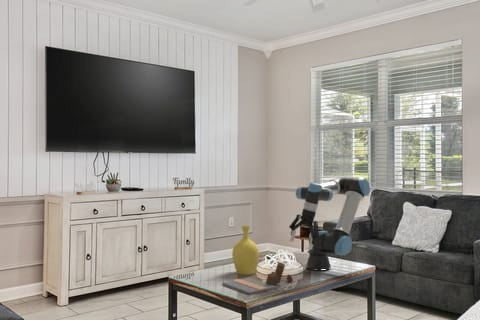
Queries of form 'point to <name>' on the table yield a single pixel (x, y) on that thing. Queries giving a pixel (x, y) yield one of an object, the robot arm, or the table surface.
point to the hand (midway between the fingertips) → (300, 245)
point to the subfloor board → (249, 286)
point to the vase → (245, 254)
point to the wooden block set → (277, 275)
